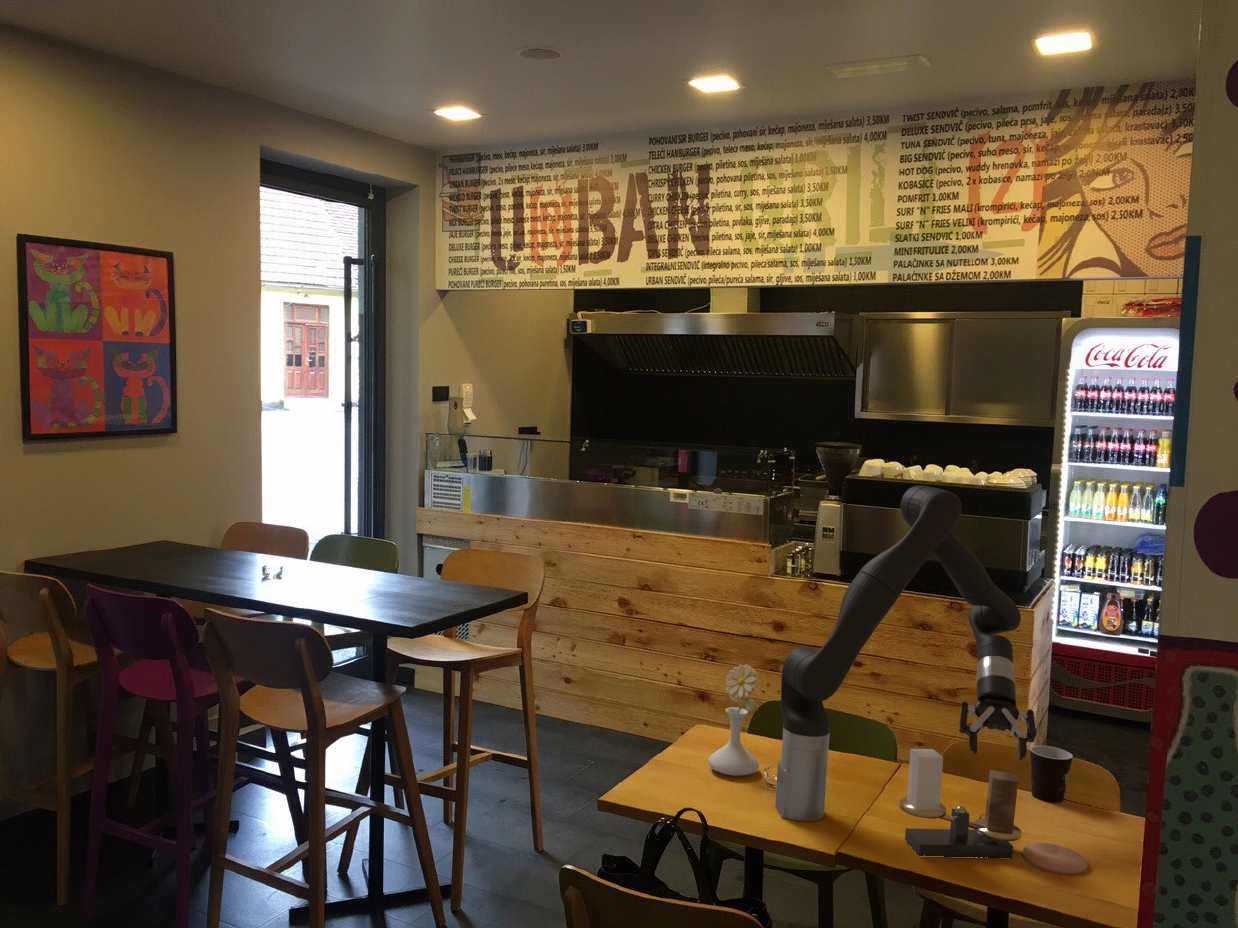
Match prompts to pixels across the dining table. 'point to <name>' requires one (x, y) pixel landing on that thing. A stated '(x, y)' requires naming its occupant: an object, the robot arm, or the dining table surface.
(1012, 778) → the walnut block
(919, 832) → the balance
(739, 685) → the flower in vase
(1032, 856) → the saucer
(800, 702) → the robot arm
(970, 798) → the dining table surface
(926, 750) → the pale block
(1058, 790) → the coffee mug
